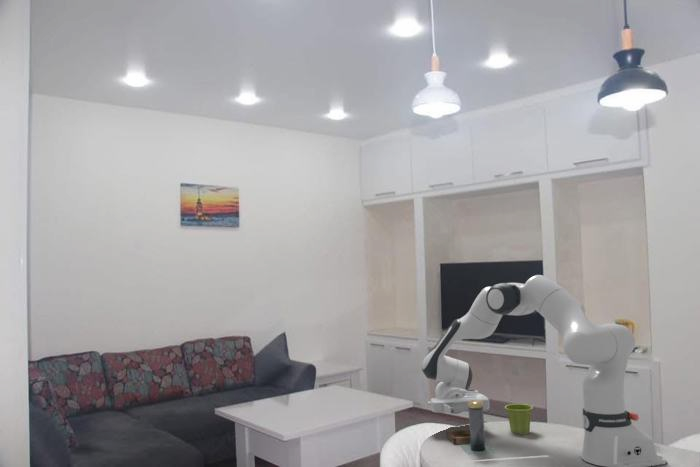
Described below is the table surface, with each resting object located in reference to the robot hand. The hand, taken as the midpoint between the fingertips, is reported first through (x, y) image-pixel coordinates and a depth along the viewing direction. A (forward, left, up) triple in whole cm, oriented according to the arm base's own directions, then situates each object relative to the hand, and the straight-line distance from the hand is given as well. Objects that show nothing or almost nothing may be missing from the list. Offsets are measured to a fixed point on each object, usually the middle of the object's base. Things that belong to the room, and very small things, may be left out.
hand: (465, 409), depth 193 cm
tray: (+1, +1, -10) cm, 10 cm away
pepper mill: (0, +12, -9) cm, 15 cm away
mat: (0, +12, -10) cm, 16 cm away
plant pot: (-20, -5, -10) cm, 23 cm away
